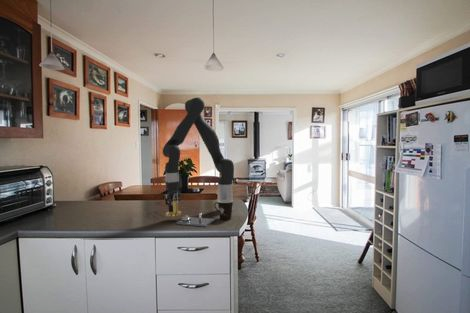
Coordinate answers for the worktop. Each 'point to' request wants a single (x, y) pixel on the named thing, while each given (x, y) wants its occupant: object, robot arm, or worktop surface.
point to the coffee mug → (224, 209)
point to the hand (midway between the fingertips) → (173, 210)
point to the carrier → (195, 221)
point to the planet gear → (174, 210)
